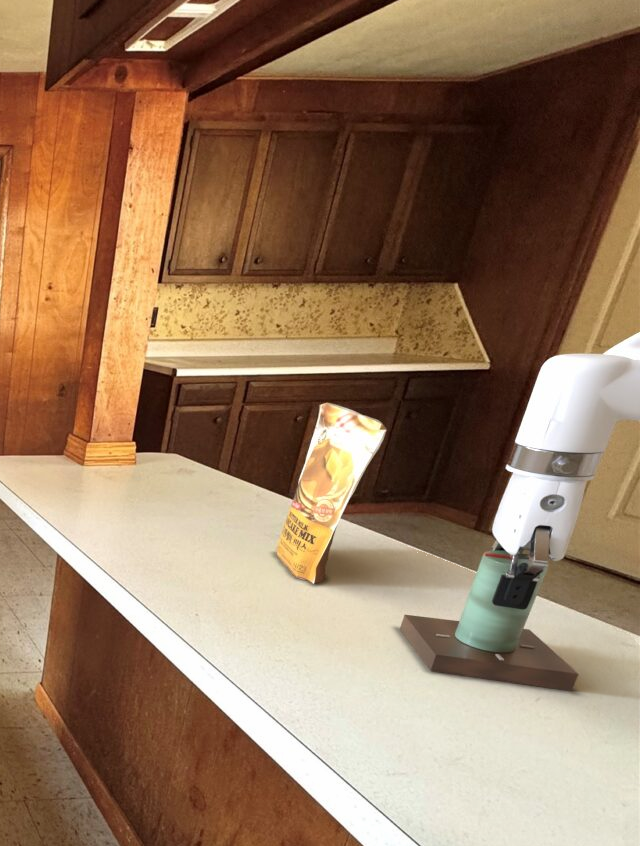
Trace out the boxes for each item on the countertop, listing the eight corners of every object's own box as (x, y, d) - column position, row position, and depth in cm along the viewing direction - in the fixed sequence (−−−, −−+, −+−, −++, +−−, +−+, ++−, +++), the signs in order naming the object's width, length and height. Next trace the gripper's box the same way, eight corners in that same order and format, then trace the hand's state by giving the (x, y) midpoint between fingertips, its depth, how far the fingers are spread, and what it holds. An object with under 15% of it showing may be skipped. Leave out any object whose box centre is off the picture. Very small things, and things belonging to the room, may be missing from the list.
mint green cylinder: (508, 636, 89) (541, 552, 85) (521, 657, 85) (556, 569, 80) (450, 626, 92) (479, 545, 88) (459, 646, 88) (490, 561, 83)
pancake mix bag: (305, 548, 126) (342, 400, 116) (346, 590, 109) (394, 421, 99) (266, 545, 128) (298, 400, 118) (300, 586, 111) (342, 421, 101)
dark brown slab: (523, 645, 92) (530, 628, 91) (571, 691, 82) (579, 673, 81) (399, 629, 97) (404, 613, 96) (430, 671, 87) (436, 653, 86)
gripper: (626, 483, 71) (563, 631, 77) (571, 448, 84) (522, 577, 91) (530, 475, 74) (478, 617, 81) (492, 443, 88) (450, 567, 95)
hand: (501, 594), depth 86 cm, fingers closed on mint green cylinder, 6 cm apart
